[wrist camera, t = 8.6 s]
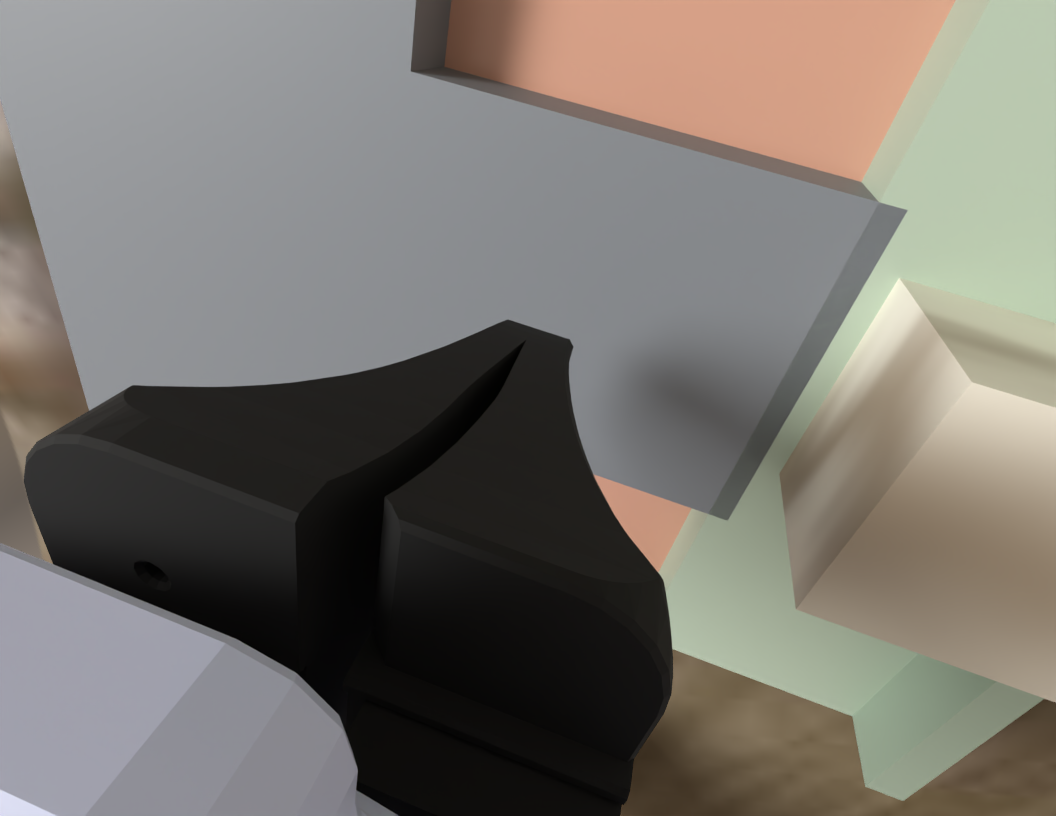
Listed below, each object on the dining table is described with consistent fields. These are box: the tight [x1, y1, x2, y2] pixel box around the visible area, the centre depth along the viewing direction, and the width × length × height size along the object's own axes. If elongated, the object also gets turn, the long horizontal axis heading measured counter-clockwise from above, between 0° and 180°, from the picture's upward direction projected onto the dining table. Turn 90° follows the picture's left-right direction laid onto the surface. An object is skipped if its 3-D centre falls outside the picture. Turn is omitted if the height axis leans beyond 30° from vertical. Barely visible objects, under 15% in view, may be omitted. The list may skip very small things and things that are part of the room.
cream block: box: [779, 278, 1056, 703], centre depth 11 cm, size 5×5×4 cm
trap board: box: [0, 0, 1056, 801], centre depth 13 cm, size 19×27×4 cm
